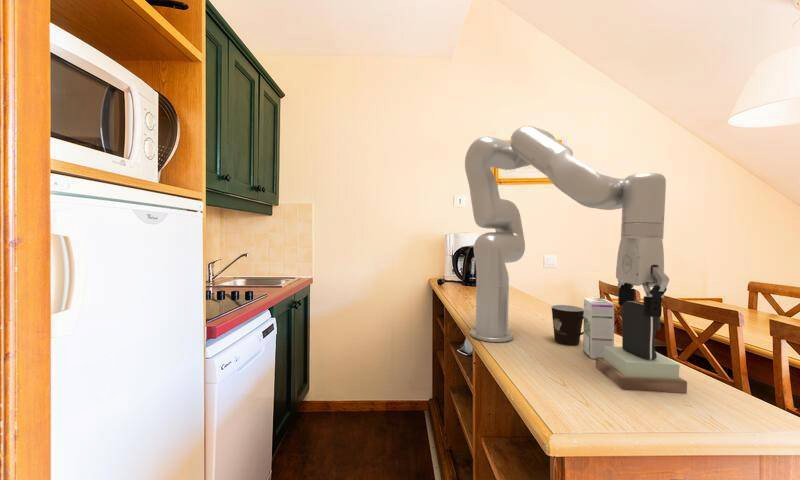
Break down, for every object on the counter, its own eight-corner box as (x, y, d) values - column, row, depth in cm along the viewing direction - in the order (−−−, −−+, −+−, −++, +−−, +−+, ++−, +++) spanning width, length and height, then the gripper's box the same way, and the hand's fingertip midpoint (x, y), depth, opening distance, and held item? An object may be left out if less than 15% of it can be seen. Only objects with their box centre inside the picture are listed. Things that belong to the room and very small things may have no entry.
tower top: (603, 358, 81) (603, 346, 81) (649, 361, 80) (649, 348, 80) (625, 376, 71) (626, 362, 71) (678, 379, 70) (679, 364, 70)
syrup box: (614, 360, 87) (616, 302, 86) (588, 358, 88) (590, 301, 87) (605, 352, 92) (607, 298, 92) (581, 351, 93) (583, 297, 93)
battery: (663, 359, 72) (663, 305, 72) (648, 361, 71) (648, 306, 71) (635, 348, 79) (635, 298, 79) (620, 349, 78) (620, 299, 78)
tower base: (595, 369, 82) (595, 356, 82) (649, 372, 81) (650, 359, 81) (622, 392, 70) (622, 378, 70) (686, 396, 69) (687, 381, 69)
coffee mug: (547, 336, 106) (547, 304, 105) (577, 338, 104) (577, 305, 104) (559, 349, 94) (559, 313, 94) (592, 351, 93) (593, 314, 93)
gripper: (604, 231, 84) (601, 301, 84) (647, 231, 66) (643, 320, 67) (637, 231, 83) (634, 303, 83) (689, 232, 66) (685, 322, 66)
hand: (638, 310), depth 75 cm, fingers open, 9 cm apart
